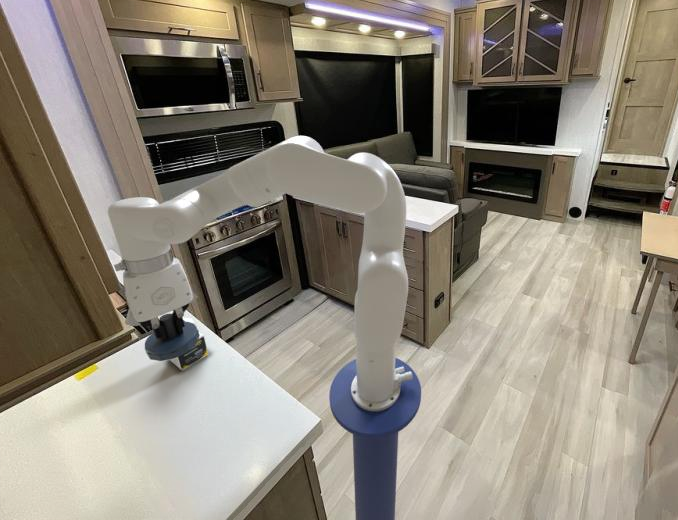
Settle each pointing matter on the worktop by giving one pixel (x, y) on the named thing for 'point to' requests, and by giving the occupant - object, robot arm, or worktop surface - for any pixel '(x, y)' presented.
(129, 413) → the worktop surface
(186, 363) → the medicine bottle
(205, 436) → the worktop surface
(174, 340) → the blue disc with peg
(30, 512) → the worktop surface
